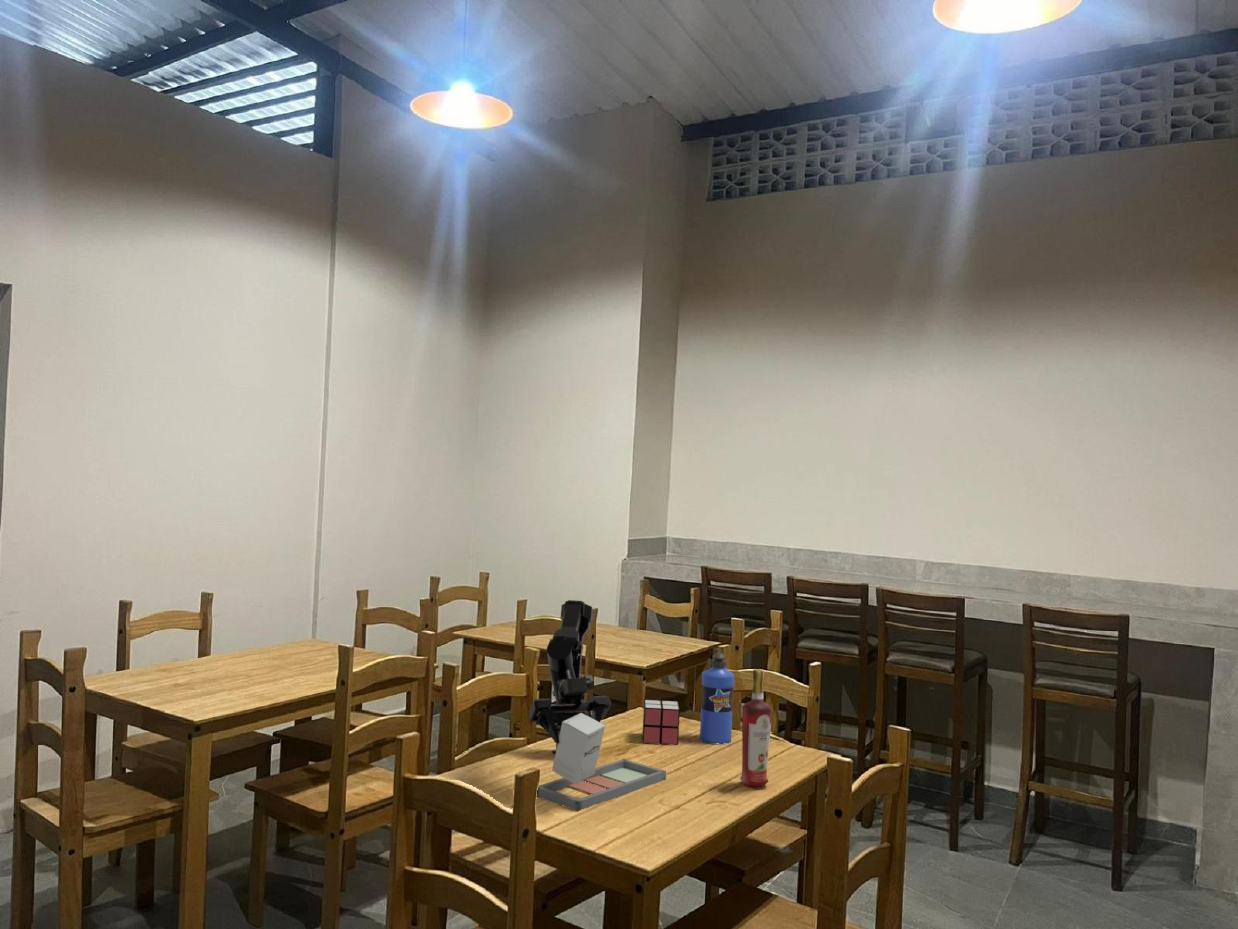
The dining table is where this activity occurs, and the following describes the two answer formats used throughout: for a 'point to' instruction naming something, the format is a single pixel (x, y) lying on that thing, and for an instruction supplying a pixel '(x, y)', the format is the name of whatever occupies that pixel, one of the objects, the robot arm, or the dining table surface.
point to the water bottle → (717, 702)
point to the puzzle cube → (661, 722)
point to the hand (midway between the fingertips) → (577, 741)
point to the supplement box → (578, 748)
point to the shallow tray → (603, 784)
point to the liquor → (755, 735)
